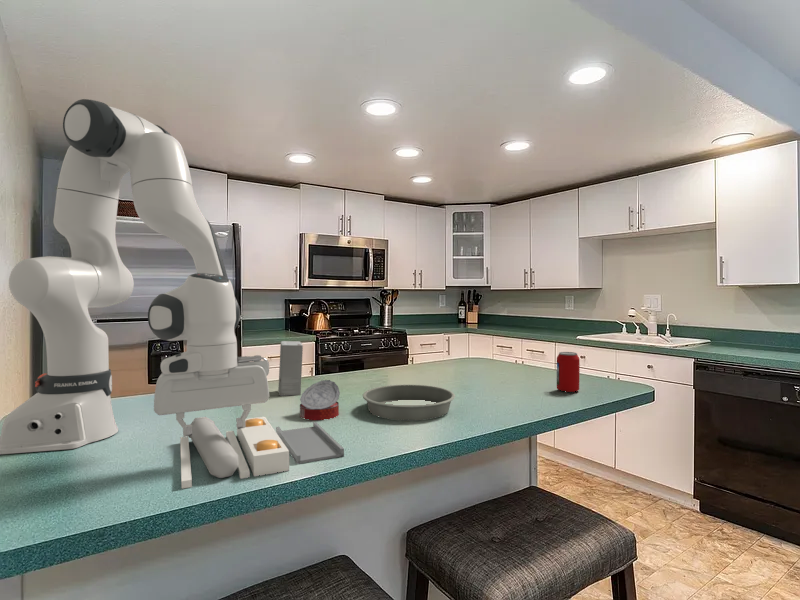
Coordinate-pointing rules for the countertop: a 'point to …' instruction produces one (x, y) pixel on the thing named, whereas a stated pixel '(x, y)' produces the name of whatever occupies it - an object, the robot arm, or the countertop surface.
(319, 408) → the canned food
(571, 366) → the beverage can
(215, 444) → the tube
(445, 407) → the cake pan
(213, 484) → the countertop surface
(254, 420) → the rear plunger
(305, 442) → the tray
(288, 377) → the skincare box
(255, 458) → the housing
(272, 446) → the front plunger
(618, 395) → the countertop surface
